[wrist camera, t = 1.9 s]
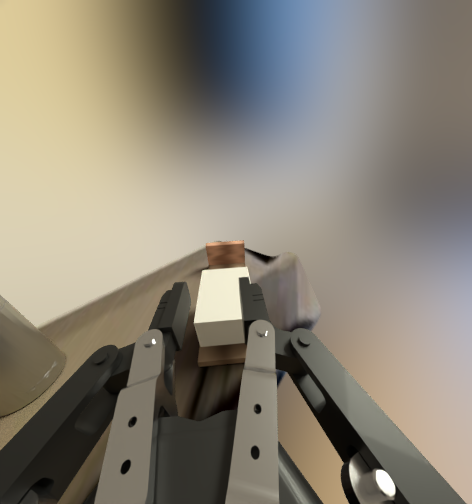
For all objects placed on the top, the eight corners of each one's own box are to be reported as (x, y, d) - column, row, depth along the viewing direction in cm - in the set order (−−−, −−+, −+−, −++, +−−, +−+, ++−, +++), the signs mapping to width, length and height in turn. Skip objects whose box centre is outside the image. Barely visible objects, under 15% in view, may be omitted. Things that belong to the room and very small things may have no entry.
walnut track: (199, 366, 28) (189, 338, 24) (210, 266, 52) (206, 243, 48) (262, 360, 28) (263, 332, 24) (244, 263, 52) (243, 240, 48)
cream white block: (202, 355, 28) (193, 323, 24) (208, 299, 38) (202, 270, 34) (256, 349, 28) (257, 317, 24) (247, 296, 39) (247, 266, 34)
